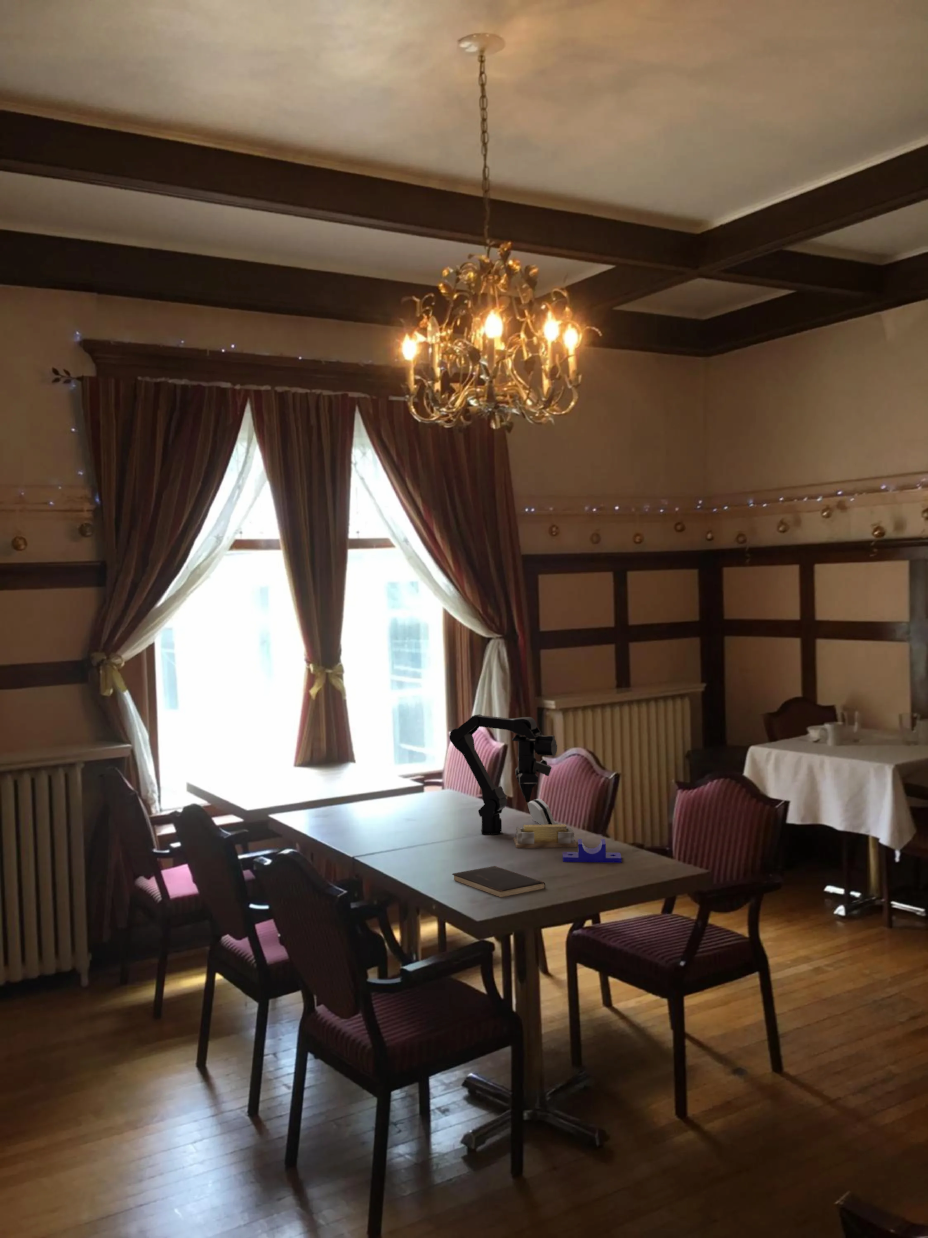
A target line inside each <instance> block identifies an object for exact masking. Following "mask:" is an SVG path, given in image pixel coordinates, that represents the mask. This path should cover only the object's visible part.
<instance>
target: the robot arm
mask: <svg viewBox="0 0 928 1238" xmlns="http://www.w3.org/2000/svg"><path fill="white" fill-rule="evenodd" d="M480 727H481V728H487V729H497V730H505V731H509V732H511V733H513V734H515V735H514V737H513V738H512V739H511V741H513V742H517V767H516V768H515V770H514V771H515V776H516V777H515V778H516V780H517V782H518V785H519V788H520V791H521V793H522V797H523V798H524V799H525V802H526V803H529V802H530V801H531V797H532V793H533V788H534V787H535V786H537V784H538V783H539V776H538V775H537V773H539V774H542V775H545V776H547V777H549V776H550V773H551V772H552V766H551V765H550V764H548V762H547V760H545V759H541V760H539V761H537V758H536V754H537V755H538V756H551V757H555V756H556V755H557V753H558V752H557V751H558V744H557V739H555V735H543V733H542V732H541V730H540V729H539V727H538V726H537V722H536V720H535V719H534V718H533V717H531V716H525V717H516V718H508V717H501V716H500V717H499V716H493V715H492V716H489V715H482V714H479V713H478V714H474V715H472V716H471V717H470V718H469V719H468V720H467V721H465V722H464V723H463V724H461V725H460V726H459V727H457V728H454V729H452V730H451V731H450V733H449V735H448V737H449V741H450V742H451V744H452V745H453V747H455V749H456V750H458V751H459V752H460V753H461V754H462V756H463V758H464V759H465V762H466V763H467V765H468V767H469V769H470V772H471V773H472V774H473V776H474V779H475V780H476V782H477V785H478V786H479V788H480V789H481V797H482V801H483V805H482V806H481V807H480V808H479V809H478V815H479V817H480V818H481V829H480V831H481V832H480V834H481V835H501V832H502V818H501V815H500V814H502V812H503V810H504V809H505V808H506V806H507V803H508V799H507V797H508V795H507V794H506V793H505V791H504V789H503V786H498V787H497V785H496V784H494V782H493V781H492V778H491V776H490V775H489V773H488V771H487V769H486V767H485V765H484V764H483V761H482V760H481V757H480V756H479V754H478V752H477V751H476V747H475V739H474V736H473V735H474V734H475V733H476V732H477V731H478V729H479V728H480Z"/></svg>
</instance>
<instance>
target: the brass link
mask: <svg viewBox="0 0 928 1238" xmlns="http://www.w3.org/2000/svg"><path fill="white" fill-rule="evenodd" d="M567 827H568V826H567V825H566V824H565V823H564V824H559V823H558V824H553V825H540V824H523V827H522V828H523V832H534V842H558V832H567Z"/></svg>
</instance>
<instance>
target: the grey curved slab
mask: <svg viewBox="0 0 928 1238" xmlns="http://www.w3.org/2000/svg"><path fill="white" fill-rule="evenodd" d="M527 808H528V810H529V811H528V812H529V814H530V817H531V816H532V817H531V819H533V820H532V821H534V822H535V821H536V822H535V823H537V822H538V823H539V824H538V823H537V824H538V825H540V824H541V825H553V824H559V822H557V821H555V819H554V816H553V813H552V812H551V809H550V807H549V805H548V804H547V803H546V802H545V801H544V800H543V799H541V798H536V799H533V800H530V802H527Z"/></svg>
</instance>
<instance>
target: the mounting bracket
mask: <svg viewBox="0 0 928 1238" xmlns="http://www.w3.org/2000/svg"><path fill="white" fill-rule="evenodd" d="M606 848H607V845H606V839H605V838H601V839H600V842H599V844H597V846H596V847H587V846H585V844H584V843H583V839H582V838H577V851H562V862H563V863H618V864H620V863H622V855H621V852H607V851H606V850H607V849H606Z"/></svg>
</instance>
